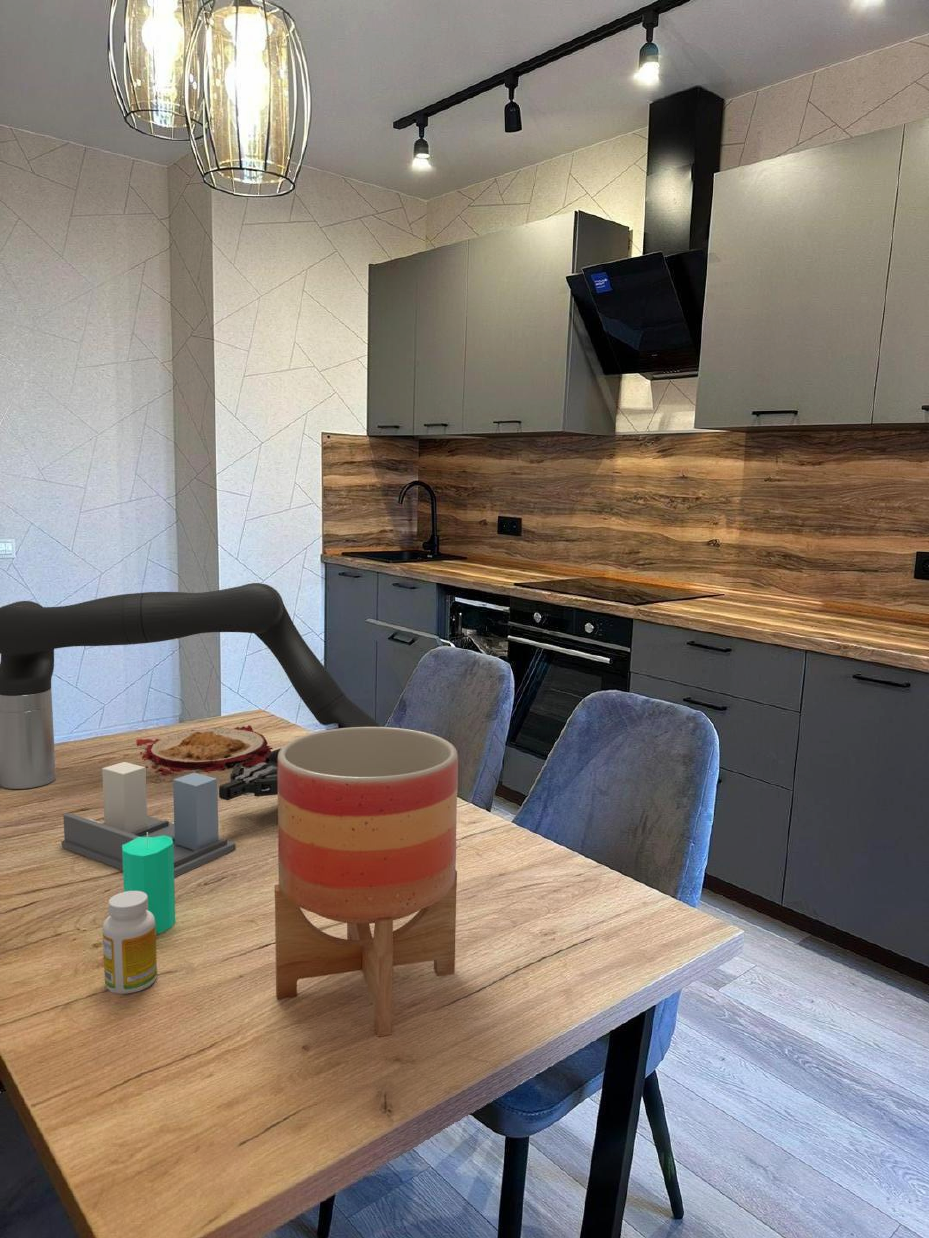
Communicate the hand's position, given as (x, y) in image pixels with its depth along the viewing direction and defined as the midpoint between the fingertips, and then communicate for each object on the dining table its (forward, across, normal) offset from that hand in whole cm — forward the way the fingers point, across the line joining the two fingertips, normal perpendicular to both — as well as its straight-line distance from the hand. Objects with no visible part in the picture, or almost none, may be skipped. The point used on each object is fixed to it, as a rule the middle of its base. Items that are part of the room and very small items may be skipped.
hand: (222, 793), depth 132 cm
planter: (+20, +43, +8) cm, 48 cm away
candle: (+24, +12, +8) cm, 28 cm away
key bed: (+9, -6, +7) cm, 13 cm away
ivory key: (+8, -13, +6) cm, 16 cm away
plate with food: (-30, -37, +8) cm, 48 cm away
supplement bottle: (+34, +21, +8) cm, 40 cm away
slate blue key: (+5, 0, +6) cm, 8 cm away
